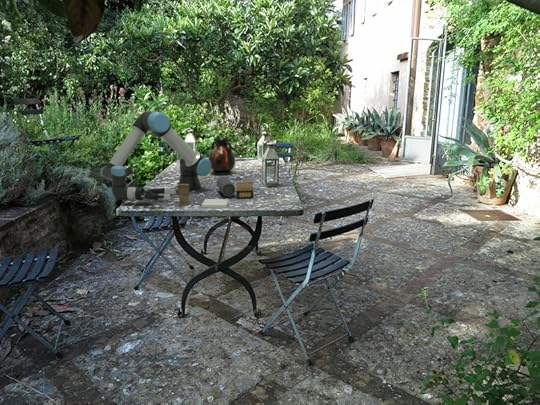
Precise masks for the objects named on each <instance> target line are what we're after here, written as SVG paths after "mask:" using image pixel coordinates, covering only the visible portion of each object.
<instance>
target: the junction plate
mask: <svg viewBox="0 0 540 405" xmlns="http://www.w3.org/2000/svg"><path fill="white" fill-rule="evenodd" d="M229 202H230V199H229V198H228V199H227V198H226V199H224V198H220V199H219V198H217V199H215V198H205V199H204V201H203V202H202V204H201V208H211V209H212V208H219V209H220V208H221V209H222V208H227V206H229V205H228V204H229Z"/></svg>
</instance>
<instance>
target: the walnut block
mask: <svg viewBox="0 0 540 405" xmlns="http://www.w3.org/2000/svg"><path fill="white" fill-rule="evenodd" d="M178 197H179V198H178V199H179V200H178V201H179V202H178V203H179V206H181V207H182V206H186V207H187V206H189V205H190V190H189V184H179V188H178Z"/></svg>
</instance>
